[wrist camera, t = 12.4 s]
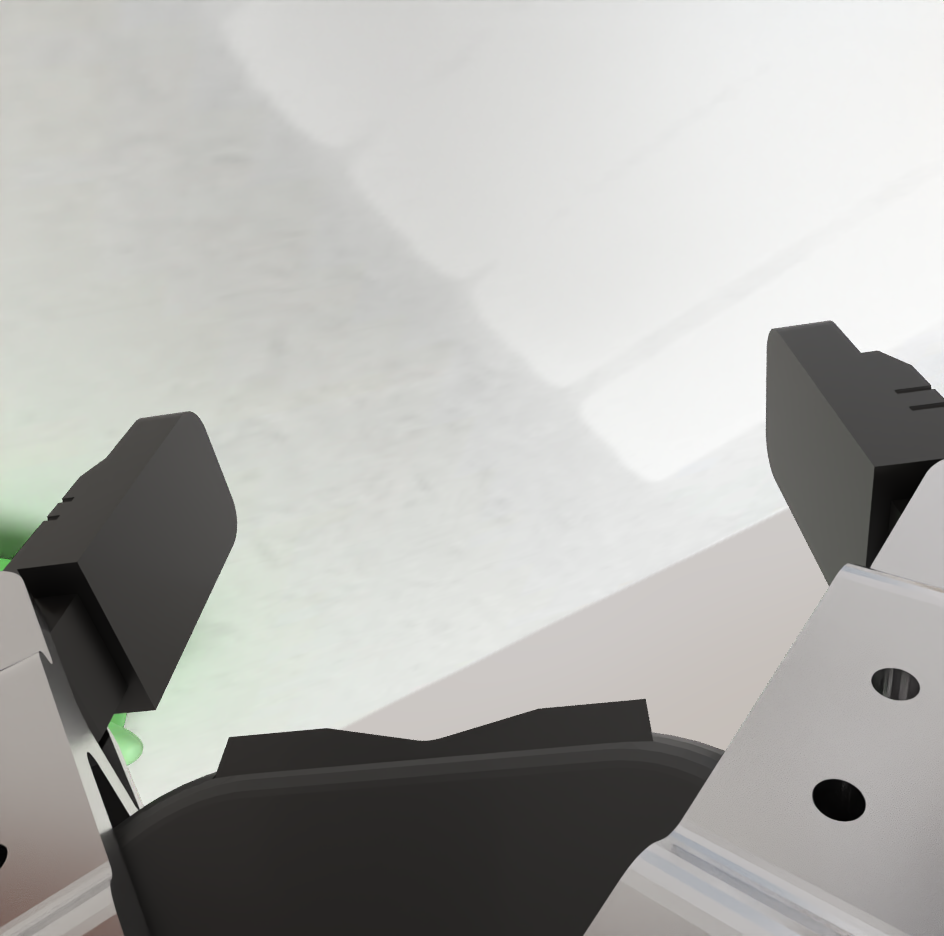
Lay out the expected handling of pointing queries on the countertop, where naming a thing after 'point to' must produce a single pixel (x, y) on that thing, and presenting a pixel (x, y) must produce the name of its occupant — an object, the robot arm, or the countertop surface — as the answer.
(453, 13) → the countertop surface
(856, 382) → the robot arm
